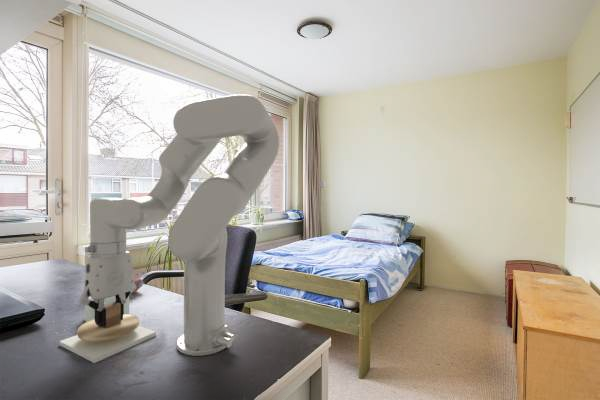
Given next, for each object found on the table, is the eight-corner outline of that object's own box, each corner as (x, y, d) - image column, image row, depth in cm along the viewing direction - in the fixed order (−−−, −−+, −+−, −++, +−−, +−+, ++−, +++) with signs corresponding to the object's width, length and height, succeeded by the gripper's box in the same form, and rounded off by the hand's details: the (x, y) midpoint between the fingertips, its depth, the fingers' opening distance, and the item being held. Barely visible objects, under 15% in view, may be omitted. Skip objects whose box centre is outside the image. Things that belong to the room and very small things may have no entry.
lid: (150, 324, 81) (150, 301, 81) (96, 346, 70) (96, 319, 70) (120, 314, 88) (119, 292, 88) (66, 332, 77) (66, 307, 76)
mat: (156, 335, 82) (156, 331, 82) (94, 363, 69) (94, 358, 69) (121, 322, 89) (121, 319, 89) (59, 345, 76) (59, 341, 76)
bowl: (137, 313, 96) (136, 295, 95) (98, 327, 86) (98, 307, 86) (115, 306, 101) (115, 289, 101) (77, 318, 91) (76, 299, 91)
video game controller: (120, 304, 107) (128, 287, 106) (109, 297, 108) (117, 280, 107) (140, 295, 117) (148, 278, 116) (130, 288, 117) (138, 272, 116)
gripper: (79, 256, 69) (81, 339, 70) (149, 244, 84) (149, 314, 84) (62, 252, 73) (63, 331, 74) (131, 242, 87) (132, 308, 88)
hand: (109, 321), depth 79 cm, fingers closed on lid, 3 cm apart
